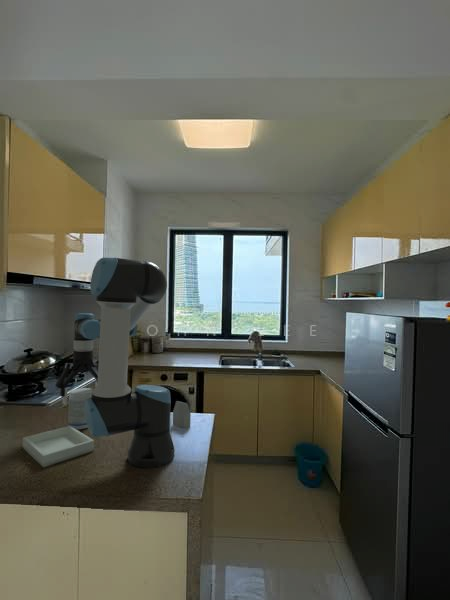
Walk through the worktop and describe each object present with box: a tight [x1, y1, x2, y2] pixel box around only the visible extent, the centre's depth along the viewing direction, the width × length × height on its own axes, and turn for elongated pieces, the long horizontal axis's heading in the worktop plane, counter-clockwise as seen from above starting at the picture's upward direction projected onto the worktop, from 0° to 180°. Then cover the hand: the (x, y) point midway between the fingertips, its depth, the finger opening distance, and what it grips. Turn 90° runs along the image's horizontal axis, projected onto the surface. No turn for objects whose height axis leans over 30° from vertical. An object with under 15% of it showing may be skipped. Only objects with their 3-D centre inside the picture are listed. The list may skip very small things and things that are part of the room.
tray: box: [22, 425, 95, 468], centre depth 110 cm, size 20×16×4 cm
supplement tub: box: [67, 387, 94, 431], centre depth 132 cm, size 10×10×15 cm
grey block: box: [172, 400, 192, 430], centre depth 133 cm, size 4×7×10 cm, turn 53°
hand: (81, 400), depth 132 cm, fingers open, 13 cm apart
